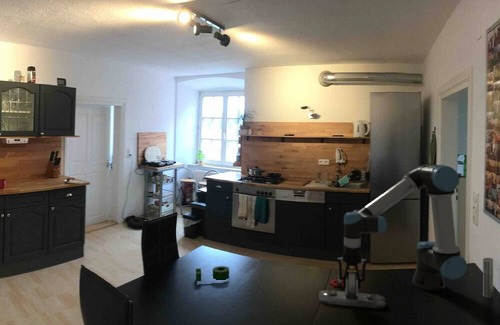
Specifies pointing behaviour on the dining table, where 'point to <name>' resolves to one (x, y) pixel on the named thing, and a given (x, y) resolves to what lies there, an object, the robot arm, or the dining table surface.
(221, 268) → the slotted cylinder bracket
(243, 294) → the dining table surface
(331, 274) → the dining table surface
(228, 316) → the dining table surface
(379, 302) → the grey rounded bar
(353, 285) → the link pin
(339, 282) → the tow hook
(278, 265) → the dining table surface
